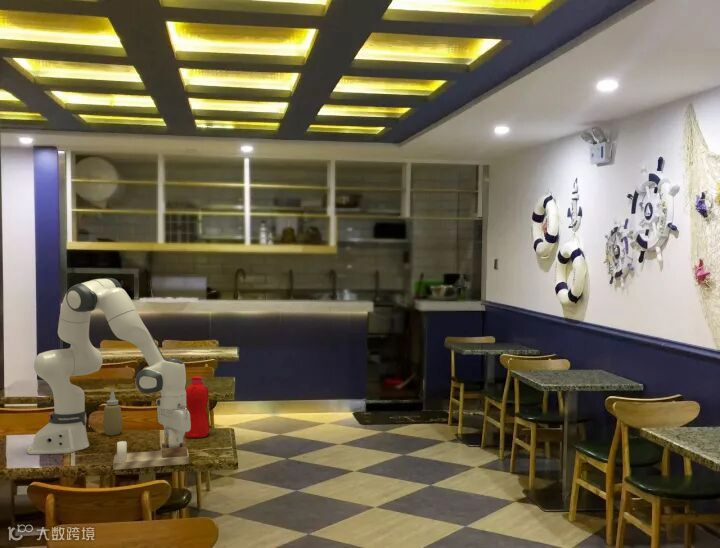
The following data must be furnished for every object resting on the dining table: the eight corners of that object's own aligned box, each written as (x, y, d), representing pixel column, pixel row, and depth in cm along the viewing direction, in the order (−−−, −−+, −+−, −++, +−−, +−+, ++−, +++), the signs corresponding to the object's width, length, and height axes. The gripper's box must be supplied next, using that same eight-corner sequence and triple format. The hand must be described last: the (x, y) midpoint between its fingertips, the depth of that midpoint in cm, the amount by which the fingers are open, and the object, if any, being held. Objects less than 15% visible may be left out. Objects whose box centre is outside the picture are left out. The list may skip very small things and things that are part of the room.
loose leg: (167, 455, 259) (166, 430, 259) (170, 452, 263) (170, 428, 263) (177, 455, 259) (177, 430, 259) (181, 452, 263) (181, 428, 263)
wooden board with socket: (113, 469, 250) (113, 454, 250) (115, 460, 261) (114, 446, 261) (189, 463, 257) (189, 448, 257) (187, 455, 268) (187, 440, 268)
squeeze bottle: (98, 435, 299) (98, 393, 299) (111, 431, 307) (111, 389, 307) (114, 437, 296) (113, 394, 296) (126, 432, 304) (126, 390, 304)
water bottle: (209, 438, 293) (209, 378, 293) (183, 438, 293) (182, 378, 293) (214, 433, 302) (214, 374, 302) (189, 433, 303) (188, 374, 302)
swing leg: (118, 455, 259) (118, 437, 259) (127, 454, 260) (127, 437, 260) (117, 461, 250) (116, 443, 250) (126, 461, 251) (126, 443, 251)
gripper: (195, 405, 255) (195, 444, 255) (169, 397, 271) (170, 433, 271) (178, 408, 251) (179, 447, 251) (154, 399, 267) (154, 436, 267)
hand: (174, 440), depth 261 cm, fingers open, 8 cm apart
